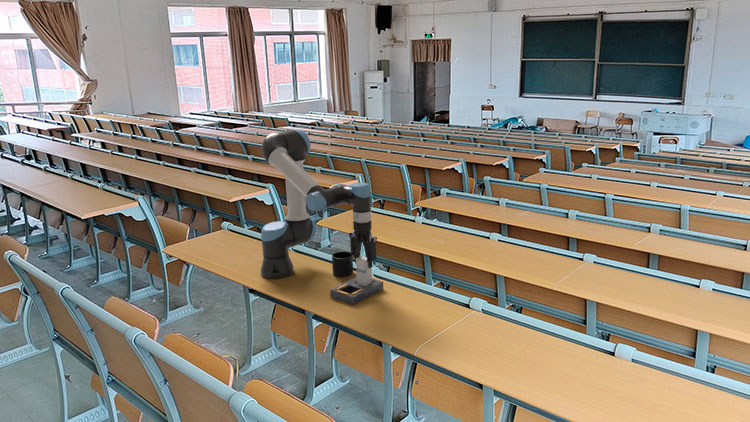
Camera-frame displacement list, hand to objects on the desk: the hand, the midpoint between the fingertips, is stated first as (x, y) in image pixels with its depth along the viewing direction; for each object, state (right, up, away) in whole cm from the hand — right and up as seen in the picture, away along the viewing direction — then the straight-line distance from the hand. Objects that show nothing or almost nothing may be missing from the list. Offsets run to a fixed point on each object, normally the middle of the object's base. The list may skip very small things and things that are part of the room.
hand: (364, 272), depth 234 cm
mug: (-9, -3, +19) cm, 22 cm away
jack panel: (-3, -9, -1) cm, 9 cm away
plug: (0, -7, +2) cm, 8 cm away
